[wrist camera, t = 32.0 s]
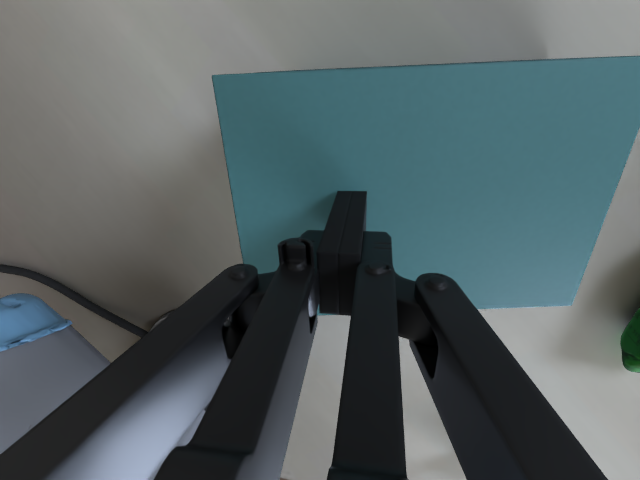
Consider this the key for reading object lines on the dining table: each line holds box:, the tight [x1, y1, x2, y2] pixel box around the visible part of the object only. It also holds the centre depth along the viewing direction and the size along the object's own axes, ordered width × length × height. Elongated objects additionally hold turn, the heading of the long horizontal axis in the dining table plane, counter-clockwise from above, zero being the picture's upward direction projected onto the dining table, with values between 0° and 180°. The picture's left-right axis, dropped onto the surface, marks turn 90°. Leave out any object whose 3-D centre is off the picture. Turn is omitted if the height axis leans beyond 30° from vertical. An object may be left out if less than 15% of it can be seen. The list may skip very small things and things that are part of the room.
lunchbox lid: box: [212, 56, 640, 315], centre depth 19 cm, size 20×14×1 cm
